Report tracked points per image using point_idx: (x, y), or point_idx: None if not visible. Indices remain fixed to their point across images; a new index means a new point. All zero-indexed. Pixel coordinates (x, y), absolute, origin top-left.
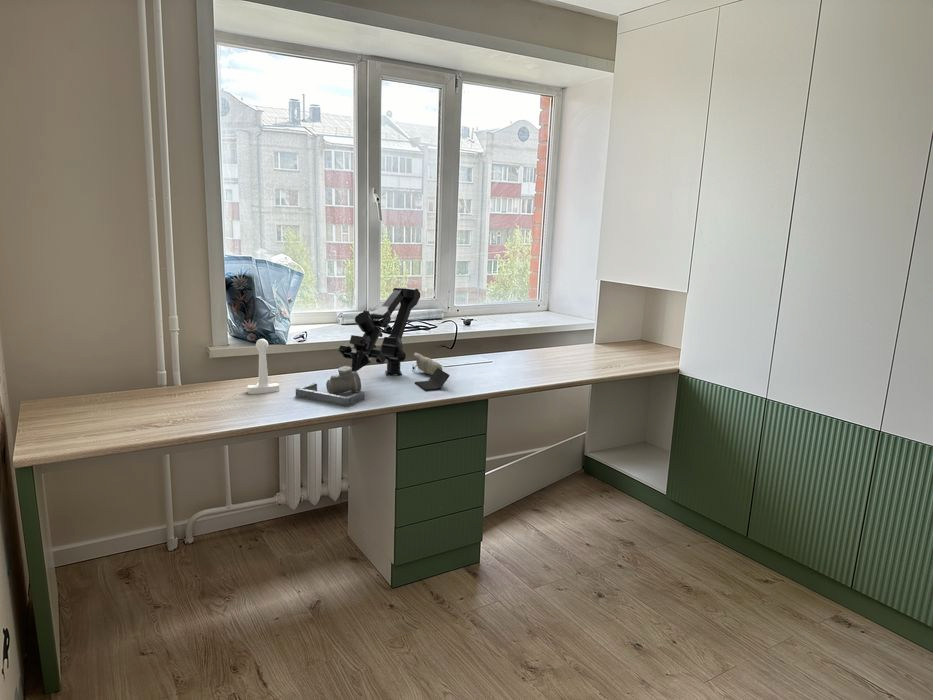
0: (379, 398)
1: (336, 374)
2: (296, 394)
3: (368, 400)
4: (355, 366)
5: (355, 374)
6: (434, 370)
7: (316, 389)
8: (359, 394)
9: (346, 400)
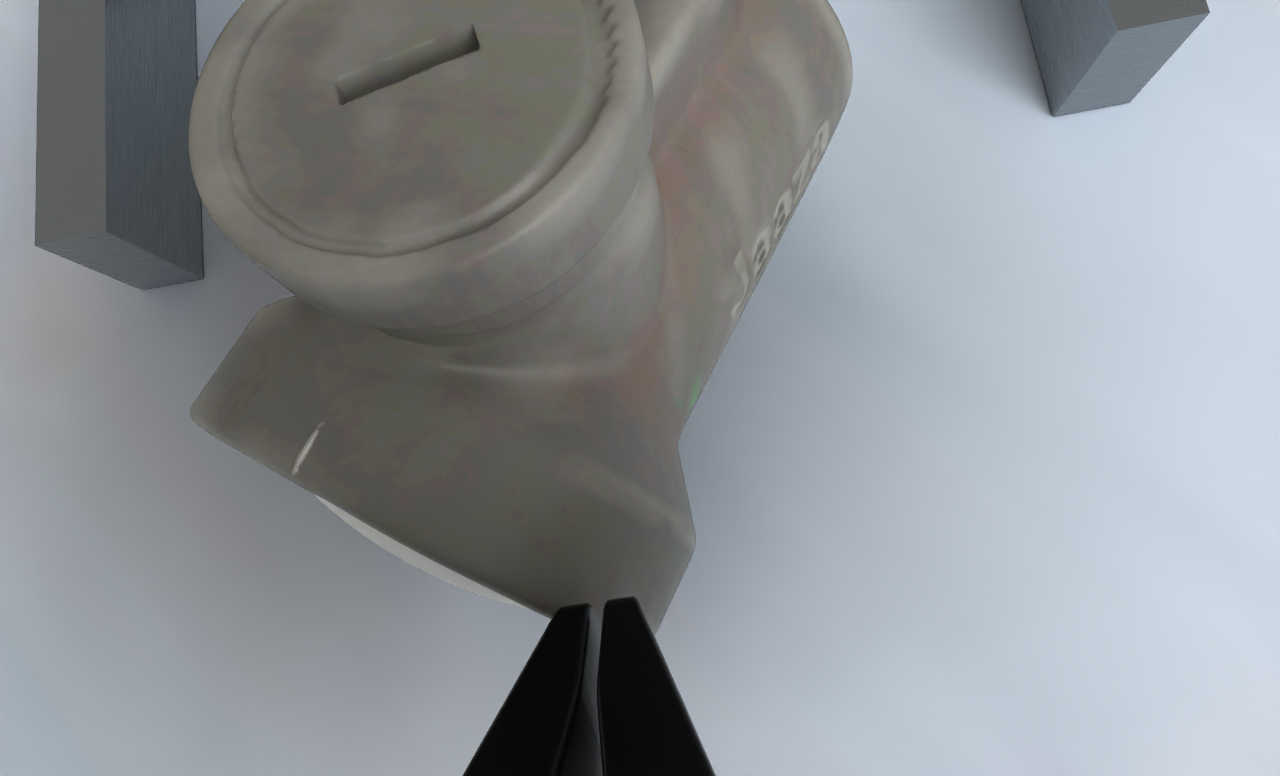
0: (12, 491)
1: (658, 29)
2: None
3: (88, 309)
4: (513, 754)
5: (252, 360)
6: None
7: (1061, 86)
8: (45, 110)
9: None
